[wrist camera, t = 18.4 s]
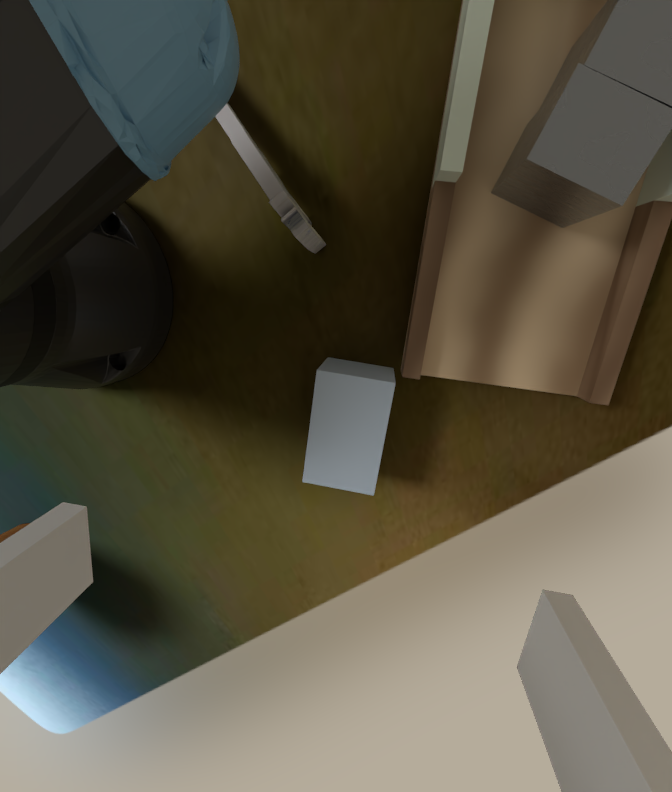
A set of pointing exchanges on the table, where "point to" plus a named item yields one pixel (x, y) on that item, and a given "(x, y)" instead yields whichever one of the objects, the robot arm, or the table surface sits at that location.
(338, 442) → the grey block
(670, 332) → the table surface
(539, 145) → the grey squarish block
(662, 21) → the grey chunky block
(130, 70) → the robot arm
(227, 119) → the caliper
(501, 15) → the slot board
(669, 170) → the tray
